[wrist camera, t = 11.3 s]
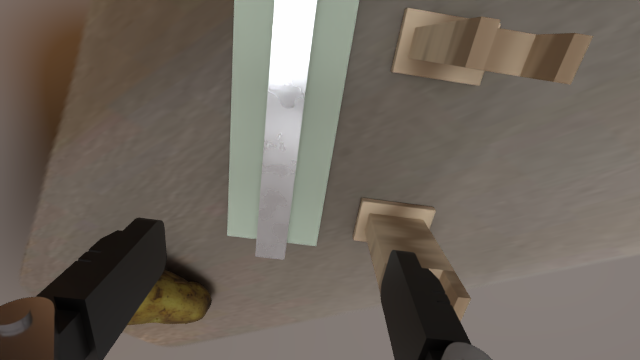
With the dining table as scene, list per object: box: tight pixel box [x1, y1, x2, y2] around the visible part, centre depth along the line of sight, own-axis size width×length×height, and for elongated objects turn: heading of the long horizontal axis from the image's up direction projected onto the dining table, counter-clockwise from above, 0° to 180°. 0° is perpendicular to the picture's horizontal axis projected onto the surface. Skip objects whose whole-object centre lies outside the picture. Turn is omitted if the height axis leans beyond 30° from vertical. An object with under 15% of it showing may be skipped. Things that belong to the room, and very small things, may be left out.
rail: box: [255, 0, 317, 260], centre depth 28 cm, size 3×26×3 cm, turn 172°
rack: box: [353, 8, 593, 321], centre depth 25 cm, size 8×23×12 cm, turn 172°
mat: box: [227, 0, 359, 246], centre depth 29 cm, size 10×26×1 cm, turn 171°
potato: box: [127, 270, 212, 325], centre depth 33 cm, size 8×13×8 cm, turn 37°
